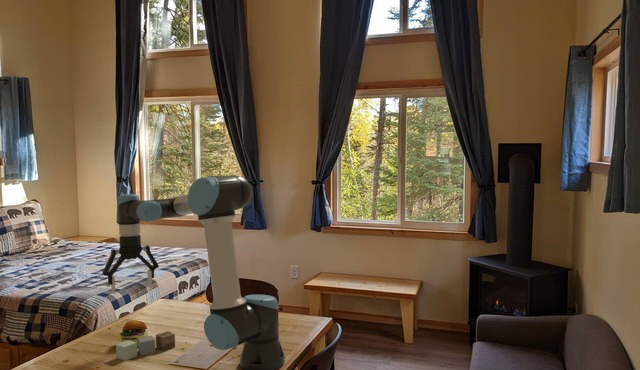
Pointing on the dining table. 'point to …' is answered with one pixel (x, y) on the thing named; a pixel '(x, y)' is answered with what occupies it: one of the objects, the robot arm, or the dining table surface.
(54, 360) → the dining table surface
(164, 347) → the walnut block
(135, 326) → the cheeseburger
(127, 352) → the sage block
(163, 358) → the dining table surface
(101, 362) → the dining table surface
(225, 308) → the robot arm
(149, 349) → the slate block
